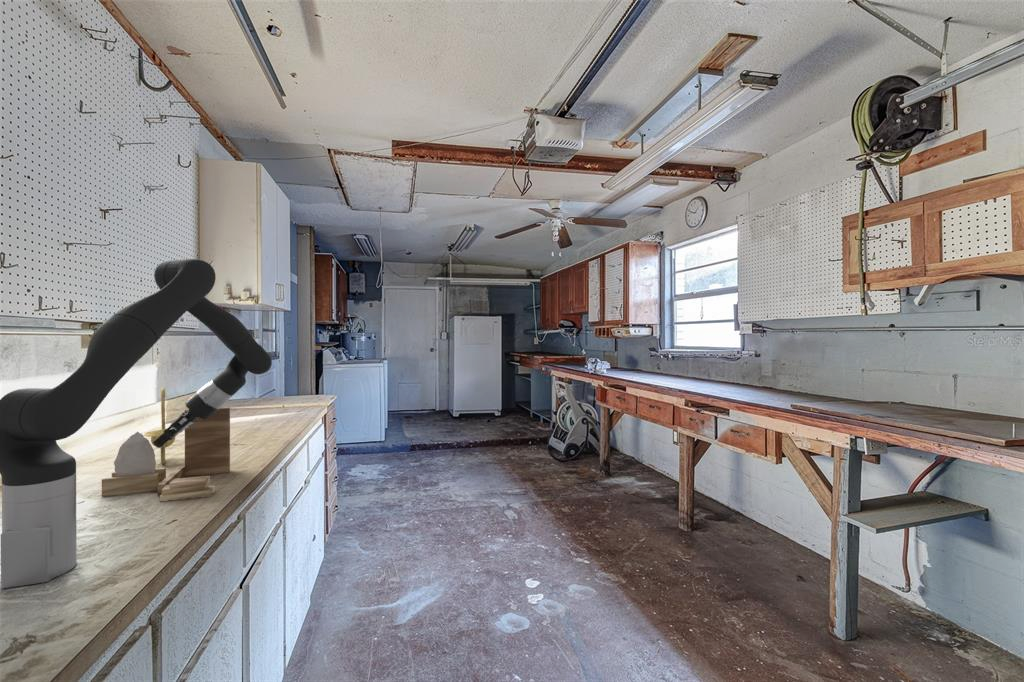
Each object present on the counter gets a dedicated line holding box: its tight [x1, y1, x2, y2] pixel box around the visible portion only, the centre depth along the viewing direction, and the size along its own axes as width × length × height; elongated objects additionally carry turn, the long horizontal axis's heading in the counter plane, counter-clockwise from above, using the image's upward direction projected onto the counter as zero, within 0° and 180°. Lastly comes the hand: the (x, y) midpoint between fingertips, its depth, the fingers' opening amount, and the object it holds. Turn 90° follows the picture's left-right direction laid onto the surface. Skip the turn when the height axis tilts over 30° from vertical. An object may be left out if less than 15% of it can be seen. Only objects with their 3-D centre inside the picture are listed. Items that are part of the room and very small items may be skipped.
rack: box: [157, 407, 231, 497], centre depth 130 cm, size 19×13×20 cm
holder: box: [101, 467, 167, 497], centre depth 124 cm, size 7×12×4 cm, turn 112°
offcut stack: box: [159, 475, 216, 502], centre depth 119 cm, size 5×11×4 cm, turn 112°
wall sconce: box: [143, 387, 176, 465], centre depth 149 cm, size 14×10×25 cm
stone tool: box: [113, 431, 157, 477], centre depth 123 cm, size 9×3×15 cm, turn 121°
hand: (161, 441), depth 126 cm, fingers open, 8 cm apart
